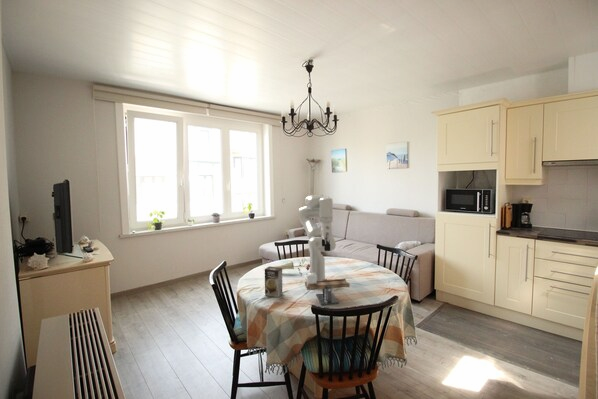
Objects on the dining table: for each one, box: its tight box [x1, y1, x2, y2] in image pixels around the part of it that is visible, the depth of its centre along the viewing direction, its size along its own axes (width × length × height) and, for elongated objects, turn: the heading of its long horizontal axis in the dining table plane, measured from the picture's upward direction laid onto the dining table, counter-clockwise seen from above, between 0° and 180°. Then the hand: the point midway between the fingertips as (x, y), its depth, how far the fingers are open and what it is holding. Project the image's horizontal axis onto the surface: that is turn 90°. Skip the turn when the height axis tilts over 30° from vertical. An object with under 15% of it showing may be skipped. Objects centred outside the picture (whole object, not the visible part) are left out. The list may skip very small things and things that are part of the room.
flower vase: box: [270, 259, 310, 276], centre depth 208 cm, size 12×12×35 cm
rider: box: [305, 272, 317, 286], centre depth 161 cm, size 5×4×6 cm
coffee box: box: [264, 266, 283, 298], centre depth 171 cm, size 9×6×16 cm
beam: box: [304, 278, 350, 291], centre depth 163 cm, size 24×8×2 cm, turn 99°
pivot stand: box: [315, 278, 340, 306], centre depth 163 cm, size 10×13×10 cm
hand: (325, 248), depth 166 cm, fingers open, 9 cm apart
